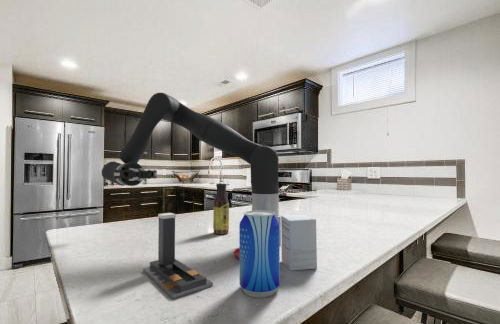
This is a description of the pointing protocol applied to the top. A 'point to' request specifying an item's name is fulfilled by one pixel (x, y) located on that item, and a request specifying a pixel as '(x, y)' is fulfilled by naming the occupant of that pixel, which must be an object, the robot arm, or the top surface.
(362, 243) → the top surface
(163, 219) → the fader knob
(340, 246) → the top surface
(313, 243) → the supplement box
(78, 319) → the top surface
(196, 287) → the fader track
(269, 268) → the beer can
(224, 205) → the sauce bottle
